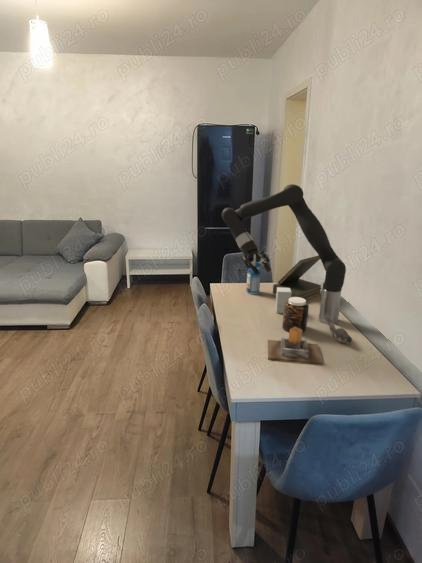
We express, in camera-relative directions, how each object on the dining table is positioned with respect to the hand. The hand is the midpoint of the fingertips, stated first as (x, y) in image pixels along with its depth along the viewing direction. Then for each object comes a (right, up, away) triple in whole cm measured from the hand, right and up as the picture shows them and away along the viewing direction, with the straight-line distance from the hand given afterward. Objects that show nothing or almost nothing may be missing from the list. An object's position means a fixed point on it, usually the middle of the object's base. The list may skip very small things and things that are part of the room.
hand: (263, 272), depth 170 cm
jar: (+17, -27, +11) cm, 34 cm away
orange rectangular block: (+11, -34, -13) cm, 38 cm away
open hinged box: (+29, -12, +58) cm, 66 cm away
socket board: (+11, -35, -13) cm, 39 cm away
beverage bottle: (+2, -11, +58) cm, 60 cm away
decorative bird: (+35, -30, +3) cm, 46 cm away
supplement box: (+15, -21, +31) cm, 40 cm away
